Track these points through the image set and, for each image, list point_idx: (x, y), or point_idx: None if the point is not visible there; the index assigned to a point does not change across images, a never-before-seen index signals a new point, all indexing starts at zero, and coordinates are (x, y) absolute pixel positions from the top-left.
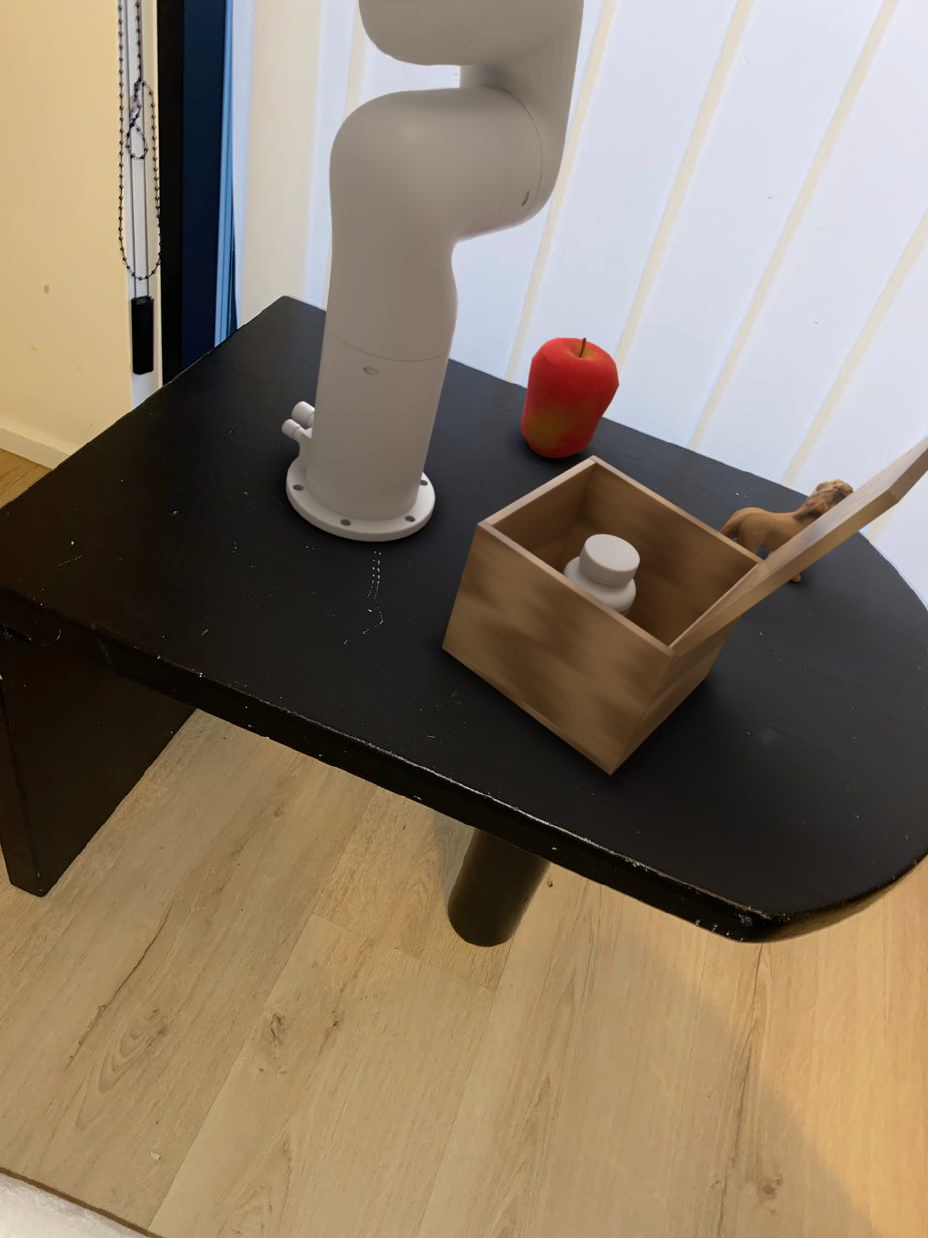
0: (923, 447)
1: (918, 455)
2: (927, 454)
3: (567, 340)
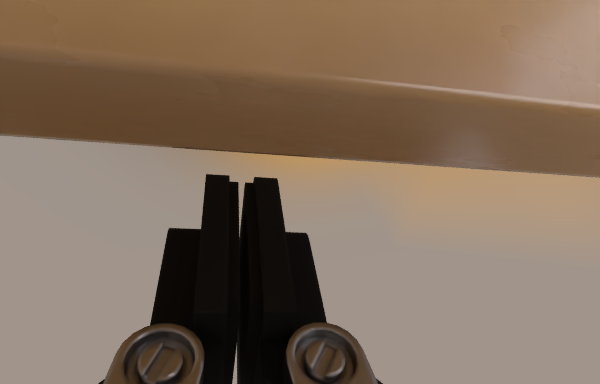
0: (435, 10)
1: (69, 16)
2: (63, 85)
3: None
